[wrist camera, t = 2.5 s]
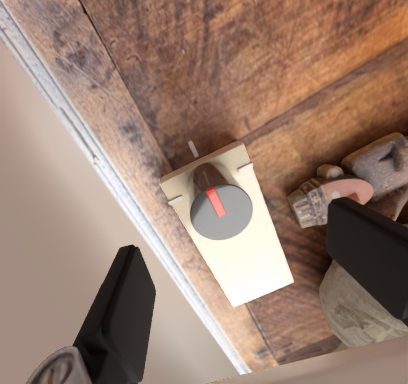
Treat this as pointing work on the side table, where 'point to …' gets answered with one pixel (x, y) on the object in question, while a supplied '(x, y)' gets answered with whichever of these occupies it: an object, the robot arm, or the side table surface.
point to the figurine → (358, 182)
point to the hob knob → (217, 202)
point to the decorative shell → (355, 311)
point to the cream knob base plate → (240, 244)
